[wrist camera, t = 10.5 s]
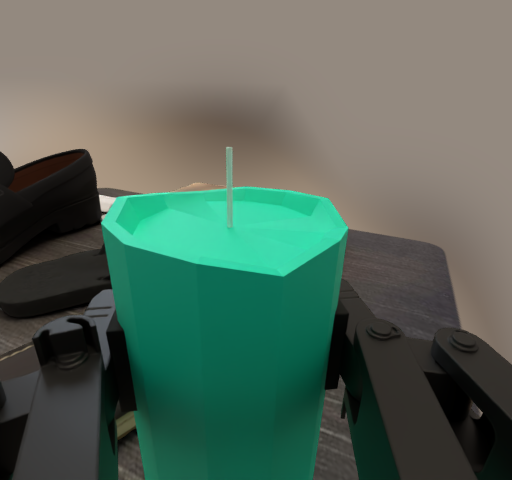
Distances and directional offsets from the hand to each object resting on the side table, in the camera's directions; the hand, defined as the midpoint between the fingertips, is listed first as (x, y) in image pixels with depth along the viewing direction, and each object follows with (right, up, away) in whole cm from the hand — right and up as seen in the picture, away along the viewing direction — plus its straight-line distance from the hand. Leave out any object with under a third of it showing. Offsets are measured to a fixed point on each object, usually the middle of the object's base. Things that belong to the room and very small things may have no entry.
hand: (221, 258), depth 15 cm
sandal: (-10, -3, +20) cm, 23 cm away
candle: (+1, -8, -2) cm, 9 cm away
